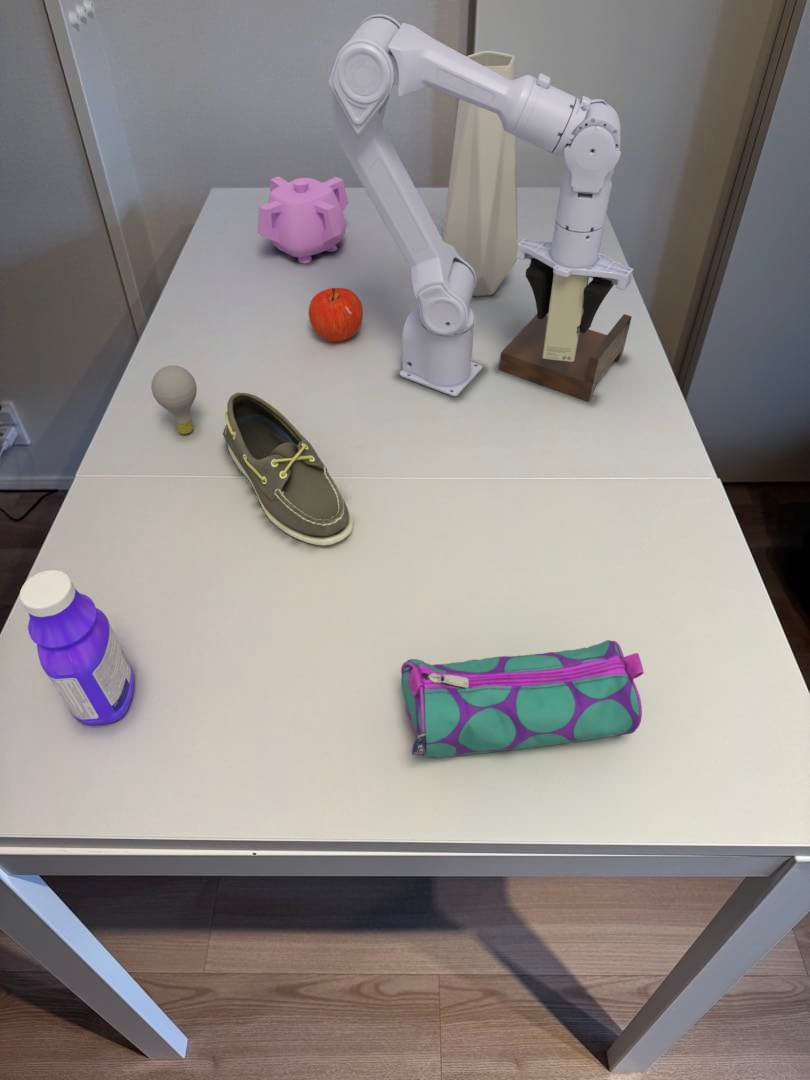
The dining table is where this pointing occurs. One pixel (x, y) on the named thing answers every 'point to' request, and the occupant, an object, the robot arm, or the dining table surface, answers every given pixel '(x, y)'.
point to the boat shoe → (285, 472)
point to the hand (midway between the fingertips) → (563, 322)
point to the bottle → (77, 649)
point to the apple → (336, 314)
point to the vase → (483, 187)
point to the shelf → (564, 375)
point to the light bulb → (176, 394)
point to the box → (564, 317)
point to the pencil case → (522, 700)
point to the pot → (304, 216)
